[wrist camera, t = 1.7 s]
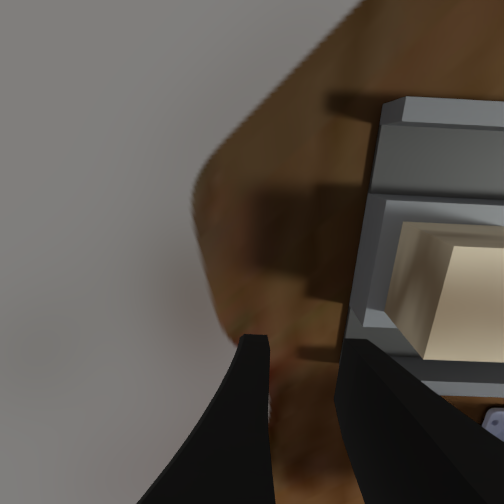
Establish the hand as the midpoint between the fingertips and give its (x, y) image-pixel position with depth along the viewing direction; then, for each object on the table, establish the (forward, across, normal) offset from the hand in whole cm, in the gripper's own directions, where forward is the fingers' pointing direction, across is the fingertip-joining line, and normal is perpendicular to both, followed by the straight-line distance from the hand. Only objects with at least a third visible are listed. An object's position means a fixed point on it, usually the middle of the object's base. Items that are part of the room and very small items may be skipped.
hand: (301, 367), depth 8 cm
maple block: (+8, -8, 0) cm, 12 cm away
